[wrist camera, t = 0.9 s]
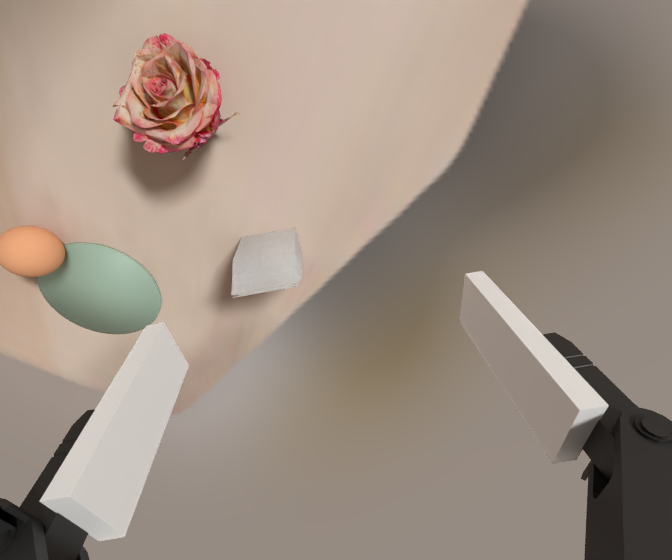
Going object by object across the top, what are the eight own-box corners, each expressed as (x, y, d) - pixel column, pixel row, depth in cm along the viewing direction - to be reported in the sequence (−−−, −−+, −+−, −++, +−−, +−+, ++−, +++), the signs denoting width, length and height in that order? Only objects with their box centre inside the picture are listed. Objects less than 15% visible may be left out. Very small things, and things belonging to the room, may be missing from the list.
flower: (262, 144, 31) (232, 91, 23) (185, 193, 31) (129, 157, 23) (213, 67, 32) (168, -8, 24) (137, 116, 32) (68, 56, 24)
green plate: (9, 270, 38) (8, 271, 37) (105, 224, 36) (104, 224, 36) (100, 346, 45) (99, 347, 45) (183, 310, 43) (183, 311, 43)
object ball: (8, 230, 35) (-37, 252, 30) (47, 210, 34) (7, 230, 30) (50, 268, 38) (15, 294, 33) (87, 250, 37) (57, 274, 33)
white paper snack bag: (241, 237, 38) (224, 280, 30) (295, 227, 38) (294, 268, 30) (250, 263, 40) (237, 310, 32) (302, 253, 40) (302, 298, 32)
